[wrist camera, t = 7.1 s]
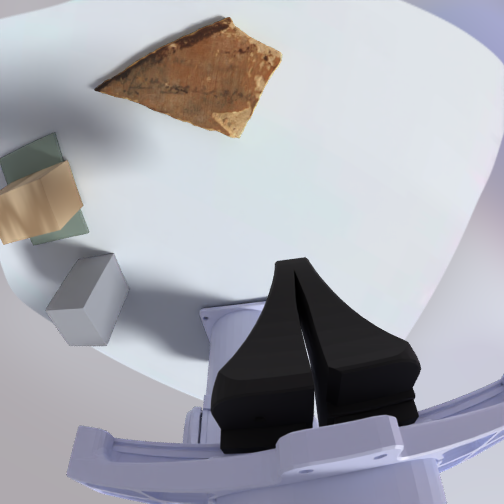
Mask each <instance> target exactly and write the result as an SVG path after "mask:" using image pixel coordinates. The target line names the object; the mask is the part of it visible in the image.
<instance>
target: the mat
mask: <svg viewBox="0 0 504 504" xmlns="http://www.w3.org/2000/svg"><path fill="white" fill-rule="evenodd" d="M61 162H64V161H63V158H62V155H61V152H60V148H59V145H58V141H57V138H56V134H55V132H54V133H52V134H50V135H47V136H45V137H43V138H41V139H39V140H36V141H34V142H32V143H30V144H28V145H26V146H24V147H22V148H20V149H18V150H16V151H14V152H12V153H10V154H8V155H6V156H4V157H3V158H1V159H0V164H1V167H2V170H3V173H4V176H5V179H6V182H7V184H8V185H9V184H10V183H11V182H14V181H16V180H18V179H21V178H23V177H25V176H28V175H30V174H33V173H35V172H37V171H40V170H42V169H45V168H48V167H50V166H53V165H55V164H58V163H61ZM87 233H89V230H88V227H87V225H86V222H85V220H84V217H83V215H82V212H81V210H79V211H78V212H77V213H76V214H75V215H74V216H73V217H72V218H71V219H70V220H69V221H68V222H67V223H66V224H65V226H64V227H63V228H62V229H61V230H58V231H54V232H50V233H46V234H42V235H38V236H34V237H31V238H30V240H31V242H32V244H33V246H34V245H38V244H42V243H46V242H51V241H55V240H60V239H64V238H69V237H73V236H78V235H83V234H87Z"/></svg>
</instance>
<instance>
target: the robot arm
mask: <svg viewBox="0 0 504 504" xmlns="http://www.w3.org/2000/svg"><path fill="white" fill-rule="evenodd" d="M199 315H200V318H201V321H202V323H203V326H204V329H205V331H206V334H207V337H208V339H209V342H210V354H209V366H208V377H207V389H206V395H204V404H203V411H202V410H201V407H197V406H195V407H193V409H192V410H190V411H189V412H188V413H187V415H186V420H185V426H184V435H183V443H164V442H149V441H138V440H128V439H120V438H114V437H113V436H112V435H111V434H110V433H109V432H107V431H105V430H103V429H99V428H93V427H87V426H79V427H78V431H77V434H76V438H75V441H74V445H73V449H72V453H71V457H70V461H69V466H68V470H67V474H66V475H67V477H69V478H71V479H73V480H75V481H77V482H78V483H80V484H82V485H85V486H86V487H88V488H91V489H92V490H95V491H97V492H99V493H102V494H106V495H110V496H114V497H119V498H123V499H128V500H133V501H137V502H142V503H147V504H447V502H446V497H445V493H444V489H443V485H442V482H441V477H440V473H441V472H443V471H445V470H447V469H450V468H452V467H454V466H456V465H458V464H460V463H462V462H464V461H466V460H468V459H470V458H472V457H474V456H476V455H477V454H479V453H481V452H483V451H485V450H487V449H488V448H490V447H492V446H494V445H495V444H497V443H499V442H501V441H502V440H504V374H503V376H502V378H501V379H500V380H498V381H496V382H494V383H491V384H489V385H487V386H485V387H483V388H480V389H478V390H476V391H473V392H471V393H469V394H466V395H463V396H461V397H458V398H456V399H453V400H450V401H448V402H445V403H442V404H439V405H436V406H434V407H431V408H428V409H425V410H422V411H417V408H416V405H415V402H414V399H415V393H414V390H413V386H414V384H415V381H416V380H417V377H418V376H419V374H420V370H421V367H420V363H419V360H418V358H417V356H416V354H415V352H414V351H413V349H412V347H411V346H410V344H409V343H408V342H407V341H405V340H403V339H401V338H398V337H396V336H394V335H392V334H390V333H388V332H386V331H384V330H382V329H380V328H379V327H377V326H375V325H374V324H372V323H371V322H369V321H368V320H366V319H365V318H363V317H362V316H360V315H359V314H358V313H357V312H355V311H354V310H353V309H352V308H350V307H349V306H348V305H347V304H346V303H345V302H343V301H342V300H341V299H340V298H339V297H338V296H337V295H336V294H335V293H334V292H333V291H332V290H331V289H330V287H329V286H328V285H327V284H326V283H325V282H324V281H323V279H322V278H321V277H320V276H319V274H318V273H317V272H316V271H315V269H314V268H313V266H312V265H311V263H310V262H309V260H308V259H307V258H306V257H304V258H297V259H290V260H282V261H277V262H276V263H275V271H274V277H273V281H272V285H271V288H270V292H269V295H268V297H267V300H266V301H263V302H255V303H247V304H239V305H230V306H221V307H212V308H203V309H201V310H200V312H199ZM205 317H208V318H205ZM301 329H302V330H301ZM302 333H303V335H302ZM303 337H304V339H303ZM304 340H305V343H304ZM305 344H306V347H305ZM306 348H307V351H308V355H309V359H308V356H307V352H306ZM309 360H310V363H309ZM310 364H311V367H310ZM314 391H315V399H316V406H317V414H318V420H317V419H316V418H315V417H314ZM201 417H202V418H201Z"/></svg>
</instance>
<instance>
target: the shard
mask: <svg viewBox="0 0 504 504" xmlns="http://www.w3.org/2000/svg"><path fill="white" fill-rule="evenodd" d="M281 61H282V54H281V52H279V51H277V50H275V49H274V48H271V47H269V46H266V45H265V44H263V43H261V42H259V41H257V40H255V39H253V38H251V37H249V36H248V35H247V34H246V33H244V32H243V31H241V30H240V29H239V28H237V27H236V26H235V25H234V24H233V21H232V19H231V18H230V17H227V18H224V19H223V20H221V21H218V22H215V23H214V24H212V25H208V26H205V27H203V28H200V29H198V30H197V31H195V32H193V33H191V34H189V35H185V36H183V37H181V38H179V39H177V40H176V41H174V42H171V43H169V44H167V45H164V46H162V47H161V48H159V49H157V50H155V51H154V52H152V53H149V54H148V55H146V56H145V57H143V58H141V59H140V60H138V61H136V62H135V63H134V64H132V65H130V66H129V67H127V68H126V69H125V70H124V71H123V72H121V73H119V74H118V75H116V76H114V77H113V78H111V79H108V80H106V81H104V82H103V83H102V84H101V85H99V86H98V87H97V88H95V89H94V91H98V92H101V93H105V94H108V95H111V96H114V97H118V98H124V99H128V100H130V101H134V102H137V103H139V104H142V105H144V106H147V107H148V108H150V109H152V110H154V111H157V112H160V113H164V114H167V115H169V116H171V117H173V118H175V119H178V120H181V121H183V122H188V123H191V124H192V125H194V126H198V127H201V128H204V129H207V130H209V131H215V130H216V131H218V132H221V133H223V134H225V135H227V136H229V137H232V138H240V136H241V134H242V133H243V131H244V128H245V126H246V124H247V122H248V121H249V119H250V118H251V116H252V114H253V112H254V109H255V108H256V106H257V104H258V101H259V99H260V97H261V94H262V92H263V90H264V88H265V86H266V85H267V83H268V80H269V79H270V78H271V76H272V75H273V73H274V71H275V70H276V69H277V68H278V67H279V65H280V63H281Z"/></svg>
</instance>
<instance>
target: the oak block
mask: <svg viewBox="0 0 504 504" xmlns="http://www.w3.org/2000/svg"><path fill="white" fill-rule="evenodd" d="M82 206H83V203H82V201H81V198H80V195H79V192H78V189H77V187H76V184H75V181H74V178H73V175H72V172H71V169H70V166H69V163H68V160H66V161H64V162H61V163H58V164H55V165H53V166H50V167H48V168H45V169H42V170H40V171H37V172H35V173H33V174H30V175H28V176H25V177H23V178H21V179H18V180H16V181H14V182H11V183H10V184H9V185H7V186H6V187H4V188H3V189H2V190H0V238H1V240H2V243H3V245H5V244H8V243H12V242H16V241H19V240H23V239H27V238H31V237H34V236H38V235H42V234H46V233H50V232H54V231H58V230H61V229H62V228H63V227H64V226H65V224H66V223H67V222H68V221H69V220H70V219H71V218H72V217H73V216H74V215H75V214H76V213H77V212H78V211H79V210H80V208H81V207H82Z"/></svg>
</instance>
